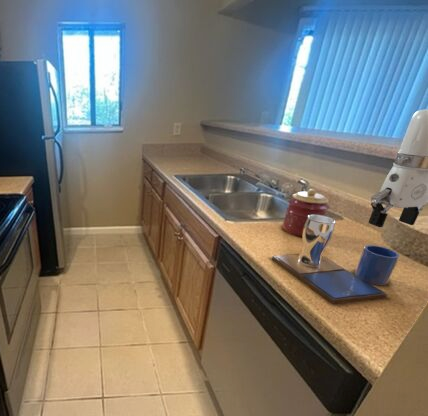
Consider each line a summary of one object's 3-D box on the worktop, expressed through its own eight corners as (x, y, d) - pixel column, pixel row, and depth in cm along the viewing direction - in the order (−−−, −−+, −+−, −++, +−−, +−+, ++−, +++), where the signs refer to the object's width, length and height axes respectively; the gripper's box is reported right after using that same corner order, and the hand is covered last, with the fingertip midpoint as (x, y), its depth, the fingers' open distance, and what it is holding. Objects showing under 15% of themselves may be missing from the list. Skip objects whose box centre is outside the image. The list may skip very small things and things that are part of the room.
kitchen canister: (286, 236, 106) (297, 192, 100) (278, 222, 117) (287, 183, 111) (326, 240, 102) (341, 195, 96) (314, 226, 114) (325, 185, 107)
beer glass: (322, 271, 82) (336, 225, 76) (294, 263, 86) (306, 219, 80) (322, 260, 87) (336, 217, 81) (296, 254, 91) (307, 212, 85)
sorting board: (314, 254, 93) (315, 251, 92) (385, 297, 73) (387, 293, 72) (271, 259, 91) (272, 255, 90) (332, 303, 71) (333, 299, 70)
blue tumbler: (368, 270, 84) (378, 244, 81) (394, 284, 78) (406, 256, 74) (348, 272, 83) (358, 246, 80) (372, 286, 77) (384, 258, 74)
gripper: (404, 166, 64) (377, 232, 70) (465, 163, 66) (434, 228, 72) (370, 159, 71) (349, 220, 77) (427, 157, 73) (401, 216, 79)
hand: (390, 224), depth 74 cm, fingers open, 9 cm apart
